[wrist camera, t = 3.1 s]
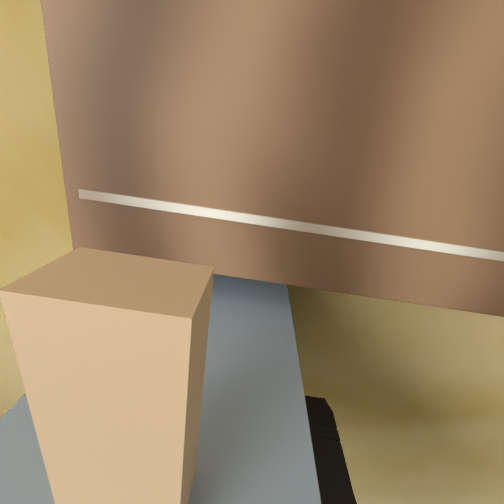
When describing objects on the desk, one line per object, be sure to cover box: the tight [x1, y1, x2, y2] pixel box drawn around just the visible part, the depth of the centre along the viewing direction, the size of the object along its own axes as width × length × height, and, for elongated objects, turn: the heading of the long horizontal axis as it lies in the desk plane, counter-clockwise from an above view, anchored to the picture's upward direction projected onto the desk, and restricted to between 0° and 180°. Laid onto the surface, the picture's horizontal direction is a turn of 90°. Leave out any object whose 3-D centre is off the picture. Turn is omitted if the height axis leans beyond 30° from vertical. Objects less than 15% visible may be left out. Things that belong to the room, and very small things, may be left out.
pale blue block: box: [0, 247, 321, 504], centre depth 8 cm, size 6×11×12 cm, turn 172°
